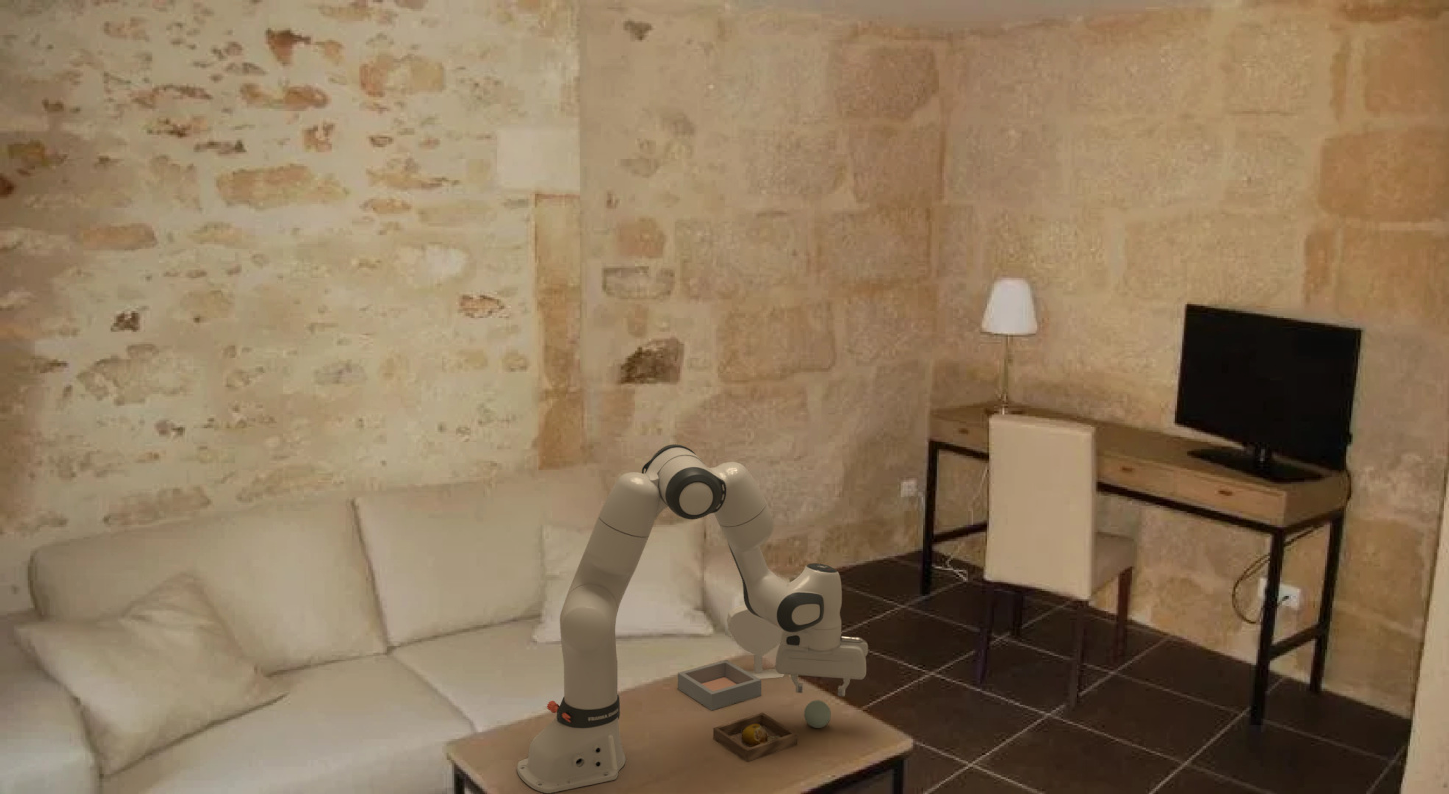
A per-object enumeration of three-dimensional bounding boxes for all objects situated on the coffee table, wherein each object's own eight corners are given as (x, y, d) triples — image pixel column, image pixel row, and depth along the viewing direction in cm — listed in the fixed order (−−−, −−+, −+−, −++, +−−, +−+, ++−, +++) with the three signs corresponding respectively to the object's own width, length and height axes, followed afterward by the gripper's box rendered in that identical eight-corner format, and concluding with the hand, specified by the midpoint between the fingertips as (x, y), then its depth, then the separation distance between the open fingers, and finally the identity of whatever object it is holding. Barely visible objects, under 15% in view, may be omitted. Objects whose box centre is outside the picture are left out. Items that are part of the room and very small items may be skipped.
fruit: (771, 755, 240) (771, 739, 240) (735, 747, 243) (735, 732, 243) (783, 738, 248) (784, 723, 247) (748, 731, 251) (748, 716, 250)
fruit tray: (747, 761, 237) (747, 750, 236) (713, 738, 247) (713, 728, 246) (797, 744, 244) (797, 734, 244) (762, 722, 255) (762, 712, 254)
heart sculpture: (785, 668, 285) (787, 600, 282) (790, 676, 280) (792, 607, 277) (725, 672, 281) (726, 604, 278) (729, 681, 277) (730, 611, 274)
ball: (815, 735, 249) (816, 709, 248) (798, 724, 254) (799, 700, 253) (835, 728, 252) (836, 703, 251) (818, 718, 257) (819, 693, 256)
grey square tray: (711, 710, 260) (711, 694, 260) (677, 688, 272) (677, 673, 271) (761, 695, 269) (761, 680, 268) (726, 675, 280) (726, 659, 279)
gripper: (869, 632, 250) (867, 691, 253) (778, 626, 254) (777, 684, 256) (867, 643, 244) (866, 703, 247) (774, 637, 248) (774, 696, 250)
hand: (820, 693), depth 252 cm, fingers open, 8 cm apart
